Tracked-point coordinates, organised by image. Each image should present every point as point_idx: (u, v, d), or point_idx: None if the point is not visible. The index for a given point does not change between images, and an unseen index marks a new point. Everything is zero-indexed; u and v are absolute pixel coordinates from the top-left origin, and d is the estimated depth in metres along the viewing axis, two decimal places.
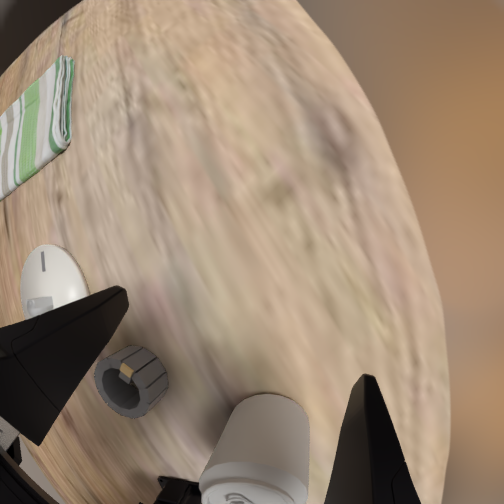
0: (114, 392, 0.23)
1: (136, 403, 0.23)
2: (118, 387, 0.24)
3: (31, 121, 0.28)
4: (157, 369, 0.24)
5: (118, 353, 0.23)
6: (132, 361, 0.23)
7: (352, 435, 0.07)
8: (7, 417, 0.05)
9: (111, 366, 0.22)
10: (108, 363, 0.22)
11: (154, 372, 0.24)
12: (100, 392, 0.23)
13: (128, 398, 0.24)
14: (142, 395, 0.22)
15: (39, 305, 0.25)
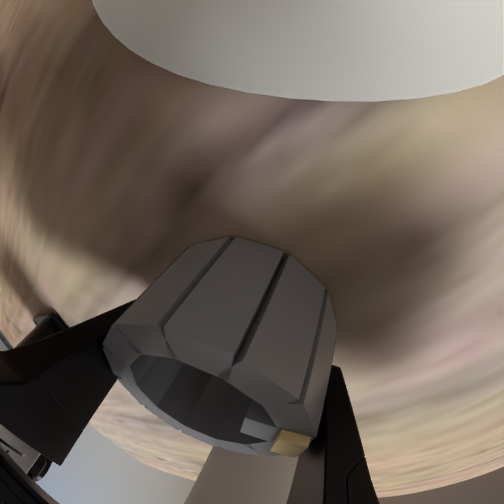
0: None
1: (176, 378, 0.09)
2: None
3: None
4: None
5: (317, 364, 0.06)
6: None
7: None
8: (29, 441, 0.05)
9: (269, 408, 0.06)
10: (274, 401, 0.06)
11: None
12: (117, 336, 0.06)
13: None
14: (231, 444, 0.08)
15: None
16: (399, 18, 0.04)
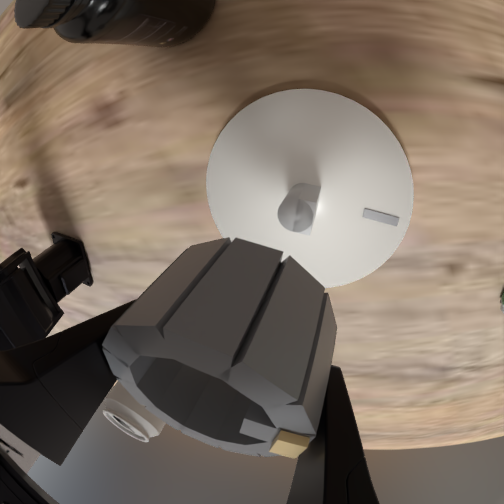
0: None
1: (175, 379, 0.09)
2: None
3: None
4: None
5: (316, 365, 0.06)
6: None
7: None
8: (29, 441, 0.05)
9: (268, 409, 0.06)
10: (274, 402, 0.06)
11: None
12: (117, 337, 0.06)
13: None
14: (231, 445, 0.08)
15: None
16: None
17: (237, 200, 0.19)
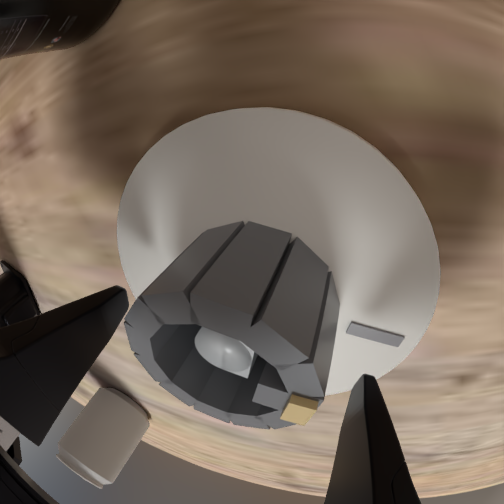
0: None
1: (189, 355, 0.10)
2: None
3: None
4: None
5: (323, 331, 0.07)
6: None
7: (352, 435, 0.07)
8: (7, 417, 0.05)
9: (281, 370, 0.07)
10: (287, 361, 0.06)
11: None
12: (142, 308, 0.07)
13: None
14: (242, 418, 0.09)
15: None
16: None
17: None
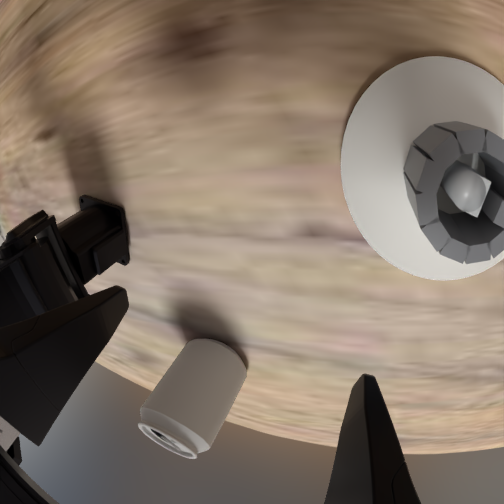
0: None
1: None
2: None
3: None
4: None
5: None
6: None
7: (352, 435, 0.07)
8: (7, 417, 0.05)
9: None
10: None
11: None
12: (452, 141, 0.09)
13: None
14: (477, 250, 0.10)
15: None
16: (418, 250, 0.16)
17: (379, 167, 0.14)
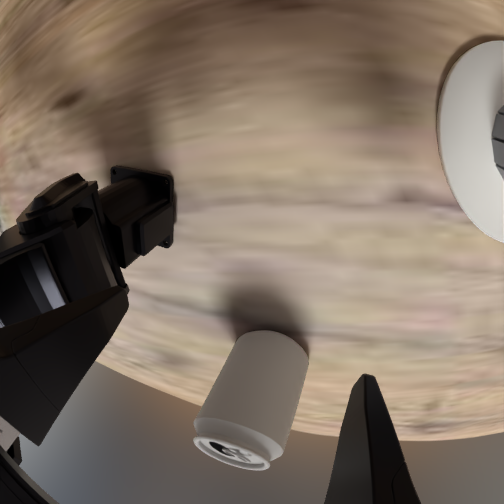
0: None
1: None
2: None
3: None
4: None
5: None
6: None
7: (352, 435, 0.07)
8: (7, 417, 0.05)
9: None
10: None
11: None
12: None
13: None
14: None
15: None
16: (500, 214, 0.13)
17: (473, 131, 0.11)
